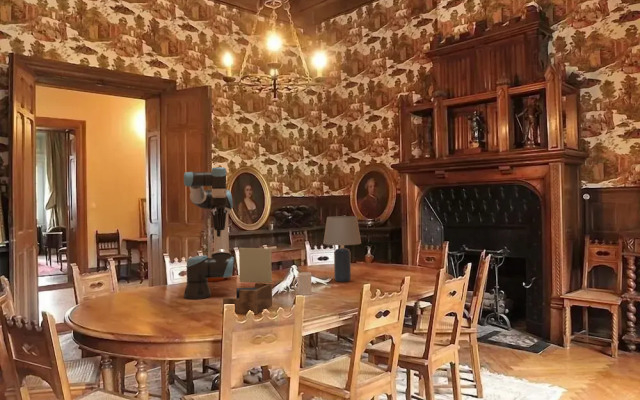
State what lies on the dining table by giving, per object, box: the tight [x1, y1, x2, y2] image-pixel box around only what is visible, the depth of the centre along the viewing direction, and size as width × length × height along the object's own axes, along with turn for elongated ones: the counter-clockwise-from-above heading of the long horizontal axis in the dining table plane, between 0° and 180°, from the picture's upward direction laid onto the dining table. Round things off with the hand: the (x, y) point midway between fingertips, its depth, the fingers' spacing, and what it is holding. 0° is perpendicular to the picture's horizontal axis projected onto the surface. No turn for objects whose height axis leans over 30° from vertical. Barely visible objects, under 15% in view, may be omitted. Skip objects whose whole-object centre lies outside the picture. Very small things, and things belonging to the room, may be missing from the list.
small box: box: [235, 286, 257, 299], centre depth 262 cm, size 11×6×10 cm, turn 102°
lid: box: [238, 247, 273, 284], centre depth 271 cm, size 18×18×2 cm
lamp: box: [323, 215, 362, 283], centre depth 341 cm, size 25×25×43 cm
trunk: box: [222, 283, 273, 316], centre depth 262 cm, size 18×20×12 cm
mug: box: [292, 272, 313, 296], centre depth 299 cm, size 12×8×12 cm
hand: (219, 242), depth 266 cm, fingers closed
